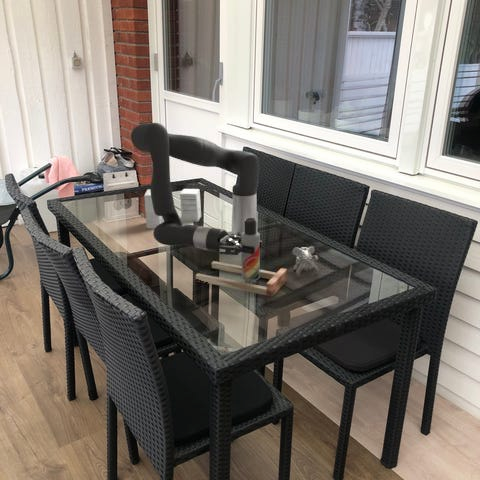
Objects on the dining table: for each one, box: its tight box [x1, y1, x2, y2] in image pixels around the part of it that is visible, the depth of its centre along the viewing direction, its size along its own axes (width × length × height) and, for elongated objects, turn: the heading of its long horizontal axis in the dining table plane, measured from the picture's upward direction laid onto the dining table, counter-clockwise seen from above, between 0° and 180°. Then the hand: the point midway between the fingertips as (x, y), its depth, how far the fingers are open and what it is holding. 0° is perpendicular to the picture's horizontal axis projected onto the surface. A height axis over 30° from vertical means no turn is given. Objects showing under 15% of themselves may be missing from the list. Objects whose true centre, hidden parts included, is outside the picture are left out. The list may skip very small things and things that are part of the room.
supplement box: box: [179, 188, 202, 223], centre depth 218 cm, size 7×7×13 cm
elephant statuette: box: [292, 246, 320, 276], centre depth 169 cm, size 9×12×8 cm
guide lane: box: [195, 260, 288, 297], centre depth 163 cm, size 12×27×4 cm, turn 64°
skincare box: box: [143, 188, 164, 229], centre depth 212 cm, size 8×6×15 cm
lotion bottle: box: [241, 218, 261, 282], centre depth 158 cm, size 6×6×20 cm
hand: (258, 247), depth 157 cm, fingers closed on lotion bottle, 4 cm apart
